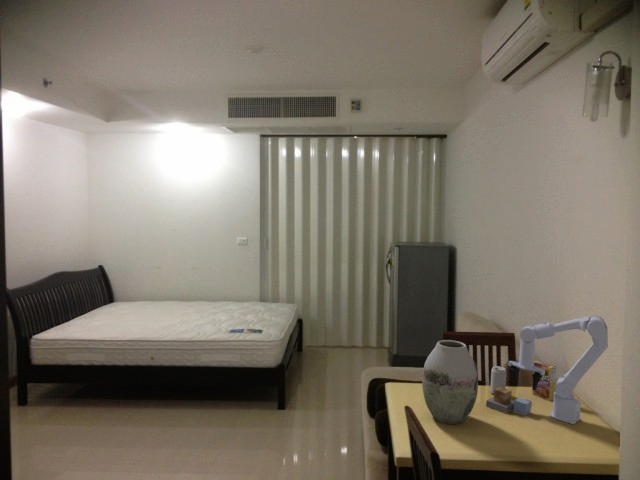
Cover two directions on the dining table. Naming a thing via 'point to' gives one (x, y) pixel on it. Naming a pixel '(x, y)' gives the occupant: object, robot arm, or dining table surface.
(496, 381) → the beverage can
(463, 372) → the vase
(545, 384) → the candy box
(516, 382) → the robot arm
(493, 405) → the charcoal base block
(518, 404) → the slate-blue block
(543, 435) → the dining table surface
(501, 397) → the walnut block
